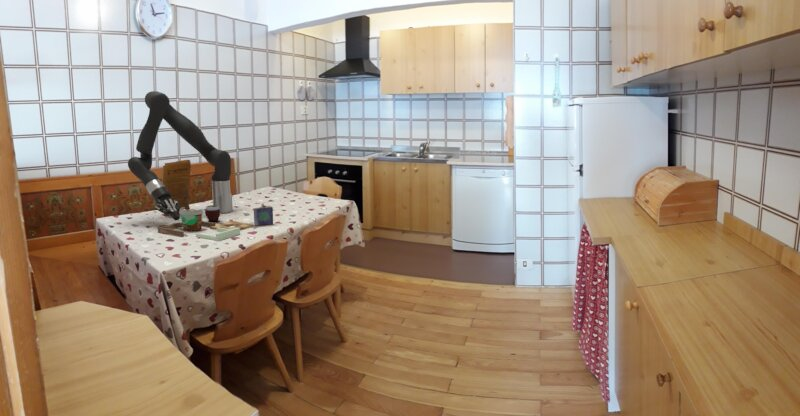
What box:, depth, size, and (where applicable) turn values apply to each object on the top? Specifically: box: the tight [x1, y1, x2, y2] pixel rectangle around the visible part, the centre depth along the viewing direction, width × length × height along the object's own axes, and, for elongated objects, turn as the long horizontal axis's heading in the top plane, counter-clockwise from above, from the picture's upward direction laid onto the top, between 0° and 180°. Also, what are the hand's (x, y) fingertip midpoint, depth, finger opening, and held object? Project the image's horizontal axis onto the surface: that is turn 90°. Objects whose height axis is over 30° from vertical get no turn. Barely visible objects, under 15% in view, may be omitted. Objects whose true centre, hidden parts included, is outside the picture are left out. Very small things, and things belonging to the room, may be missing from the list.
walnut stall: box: [157, 220, 217, 238], centre depth 239 cm, size 19×15×2 cm
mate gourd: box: [204, 192, 223, 224], centre depth 254 cm, size 8×8×15 cm
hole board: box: [209, 220, 255, 231], centre depth 245 cm, size 14×14×1 cm
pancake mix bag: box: [161, 159, 192, 217], centre depth 270 cm, size 7×19×28 cm, turn 151°
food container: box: [179, 207, 203, 233], centre depth 238 cm, size 12×6×10 cm, turn 62°
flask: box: [253, 202, 274, 227], centre depth 250 cm, size 9×3×11 cm, turn 120°
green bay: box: [195, 227, 241, 242], centre depth 230 cm, size 13×13×3 cm
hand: (177, 219), depth 241 cm, fingers closed
